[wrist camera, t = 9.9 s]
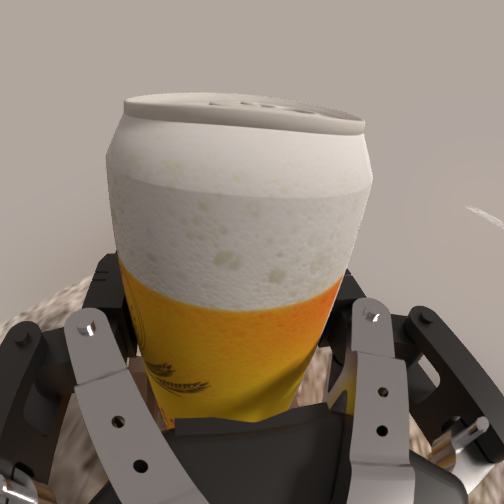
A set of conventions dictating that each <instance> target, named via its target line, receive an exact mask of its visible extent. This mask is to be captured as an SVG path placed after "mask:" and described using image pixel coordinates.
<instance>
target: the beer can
mask: <svg viewBox="0 0 504 504" xmlns="http://www.w3.org/2000/svg"><path fill="white" fill-rule="evenodd" d="M365 123H366V122H365V121H364V120H363V119H361V118H359V117H357V116H354V115H351V114H348V113H345V112H342V111H338V110H335V109H331V108H326V107H322V106H318V105H313V104H308V103H303V102H298V101H292V100H286V99H279V98H272V97H264V96H254V95H244V94H229V93H199V92H197V93H165V94H154V95H145V96H138V97H133V98H129V99H126V100H125V101H124V113H123V116H122V118H121V120H120V122H119V125H118V127H117V129H116V132H115V134H114V137H113V139H112V141H111V144H110V146H109V149H108V151H107V154H106V168H107V180H108V191H109V200H110V208H111V216H112V224H113V231H114V237H115V243H116V249H117V255H118V261H119V266H120V271H121V276H122V281H123V286H124V290H125V295H126V299H127V304H128V308H129V312H130V316H131V320H132V324H133V327H134V331H135V335H136V339H137V342H138V346H139V349H140V352H141V356H142V359H143V362H144V365H145V369H146V372H147V375H148V378H149V381H150V384H151V387H152V390H153V392H154V395H155V398H156V401H157V404H158V406H159V409H160V412H161V414H162V417H163V419H164V422H165V424H166V427H167V429H171V428H175V422H174V418H205V417H216V418H223V419H229V420H237V421H245V422H259V421H262V420H265V419H267V418H270V417H272V416H275V415H277V414H280V413H282V412H285V411H287V410H288V409H289V407H290V405H291V403H292V401H293V399H294V396H295V394H296V392H297V390H298V388H299V386H300V384H301V381H302V379H303V377H304V375H305V373H306V370H307V368H308V366H309V364H310V361H311V359H312V357H313V354H314V352H315V350H316V347H317V345H318V342H319V340H320V338H321V335H322V333H323V330H324V328H325V325H326V323H327V320H328V317H329V315H330V312H331V310H332V307H333V304H334V302H335V299H336V296H337V294H338V291H339V288H340V285H341V282H342V280H343V277H344V274H345V271H346V268H347V265H348V262H349V259H350V256H351V253H352V250H353V247H354V244H355V240H356V237H357V234H358V231H359V227H360V224H361V221H362V217H363V214H364V210H365V207H366V203H367V200H368V196H369V192H370V189H371V185H372V181H373V174H372V169H371V164H370V160H369V155H368V151H367V146H366V142H365V138H364V128H365Z"/></svg>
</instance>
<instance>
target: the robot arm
mask: <svg viewBox="0 0 504 504" xmlns="http://www.w3.org/2000/svg"><path fill="white" fill-rule="evenodd" d="M137 344H138V342H137V339H136V335H135V331H134V327H133V324H132V320H131V316H130V312H129V308H128V304H127V299H126V295H125V290H124V286H123V281H122V276H121V271H120V266H119V261H118V255H117V250H116V253H115V254H106V255H105V256H104V258H102V259H101V260H100V262H99V263H98V265H97V268H96V271H95V273H94V276H93V278H92V281H91V284H90V286H89V289H88V292H87V295H86V297H85V300H84V303H83V306H82V309H80V310H78V311H76V312H74V313H73V314H71V315H70V316H69V318H68V319H67V320H66V322H65V325H64V327H62V328H59V329H54V330H50V331H46V332H41V330H40V328H39V326H38V325H37V324H36V323H34V322H31V321H24V322H20V323H18V324H16V325H15V326H13V327H12V328H11V329H10V330H9V332H8V333H7V335H6V336H5V338H4V340H3V342H2V344H1V345H0V504H57V502H56V498H55V496H54V494H53V492H52V491H51V489H50V488H49V487H48V481H49V476H50V471H51V466H52V462H53V457H54V453H55V449H56V445H57V441H58V437H59V434H60V430H61V426H62V423H63V419H64V416H65V413H66V409H67V406H68V403H69V400H70V397H71V394H72V393H75V394H76V397H77V400H78V404H79V407H80V410H81V413H82V416H83V418H84V421H85V424H86V427H87V429H88V432H89V435H90V437H91V440H92V442H93V445H94V447H95V449H96V452H97V454H98V456H99V459H100V461H101V463H102V465H103V468H104V470H105V472H106V474H107V476H108V478H109V481H108V482H107V483H106V484H105V485H104V486H103V488H102V489H101V490H100V491H99V492H98V493H97V494H96V495H95V497H94V498H93V499H92V500H91V501H90V502H89V503H88V504H469V503H468V494H469V493H470V492H471V491H472V489H473V488H474V487H475V486H476V485H477V484H478V483H479V482H480V481H481V480H482V479H483V478H484V477H485V475H486V474H487V473H488V472H489V471H490V470H491V468H492V467H493V466H495V465H497V464H498V463H500V462H501V461H503V460H504V396H503V395H502V393H501V392H500V391H499V389H498V388H497V386H496V385H495V384H494V382H493V381H492V380H491V378H490V377H489V376H488V375H487V373H486V372H485V371H484V369H483V368H482V367H481V366H480V364H479V363H478V362H477V361H476V359H475V358H474V357H473V356H472V354H471V353H470V352H469V351H468V350H467V348H466V347H465V346H464V345H463V344H462V342H461V341H460V340H459V339H458V338H457V336H456V335H455V334H454V333H453V332H452V331H451V330H450V328H449V327H448V326H447V325H446V324H445V323H444V322H443V321H442V319H441V318H440V317H439V316H438V315H437V314H436V313H435V312H434V311H433V310H431V309H429V308H427V307H424V306H415V307H413V308H412V309H411V311H410V312H409V314H408V316H402V315H395V314H390V312H389V310H388V308H387V307H386V306H385V305H384V304H382V303H381V302H379V301H377V300H375V299H372V298H367V297H366V296H365V294H364V293H363V291H362V290H361V288H360V287H359V285H358V284H357V282H356V281H355V279H354V278H353V276H351V273H350V272H349V270H348V269H346V271H345V274H344V277H343V280H342V282H341V285H340V288H339V291H338V294H337V296H336V299H335V302H334V304H333V307H332V310H331V312H330V315H329V317H328V320H327V323H326V325H325V328H324V330H323V333H322V335H321V338H320V340H319V342H318V347H319V348H321V347H328V346H330V347H331V350H332V352H331V354H330V356H329V360H328V368H327V375H326V382H325V389H324V395H323V400H322V403H318V404H313V405H308V406H303V407H297V408H292V409H290V410H287V411H285V412H282V413H280V414H277V415H275V416H272V417H270V418H267V419H265V420H262V421H259V422H245V421H237V420H229V419H223V418H216V417H205V418H174V422H175V428H171V429H168V430H165V431H162V432H161V431H160V430H159V428H158V426H157V424H156V423H155V421H154V419H153V417H152V415H151V414H150V412H149V410H148V408H147V406H146V404H145V402H144V400H143V398H142V396H141V394H140V392H139V390H138V388H137V386H136V384H135V382H134V380H133V378H132V376H131V374H130V371H129V369H128V368H127V366H126V362H127V357H128V358H136V354H137ZM423 355H425V356H426V358H427V359H428V360H429V362H430V363H431V364H432V365H433V367H434V368H435V369H436V371H437V372H438V373H439V376H440V384H439V386H438V387H437V388H436V387H435V385H434V384H433V382H432V381H431V380H430V378H429V377H428V376H427V374H426V373H425V372H424V370H423V369H422V368H421V366H420V365H419V364H418V361H419V360H420V359H421V357H422V356H423ZM409 412H410V414H411V416H412V417H413V419H414V420H415V422H416V423H417V425H418V426H419V428H420V429H421V431H422V433H423V434H424V436H425V437H426V439H427V440H428V442H429V444H430V445H431V447H432V452H431V453H429V455H428V460H427V459H425V458H424V457H422V456H420V455H418V454H417V453H415V452H413V451H412V450H410V449H409Z"/></svg>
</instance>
